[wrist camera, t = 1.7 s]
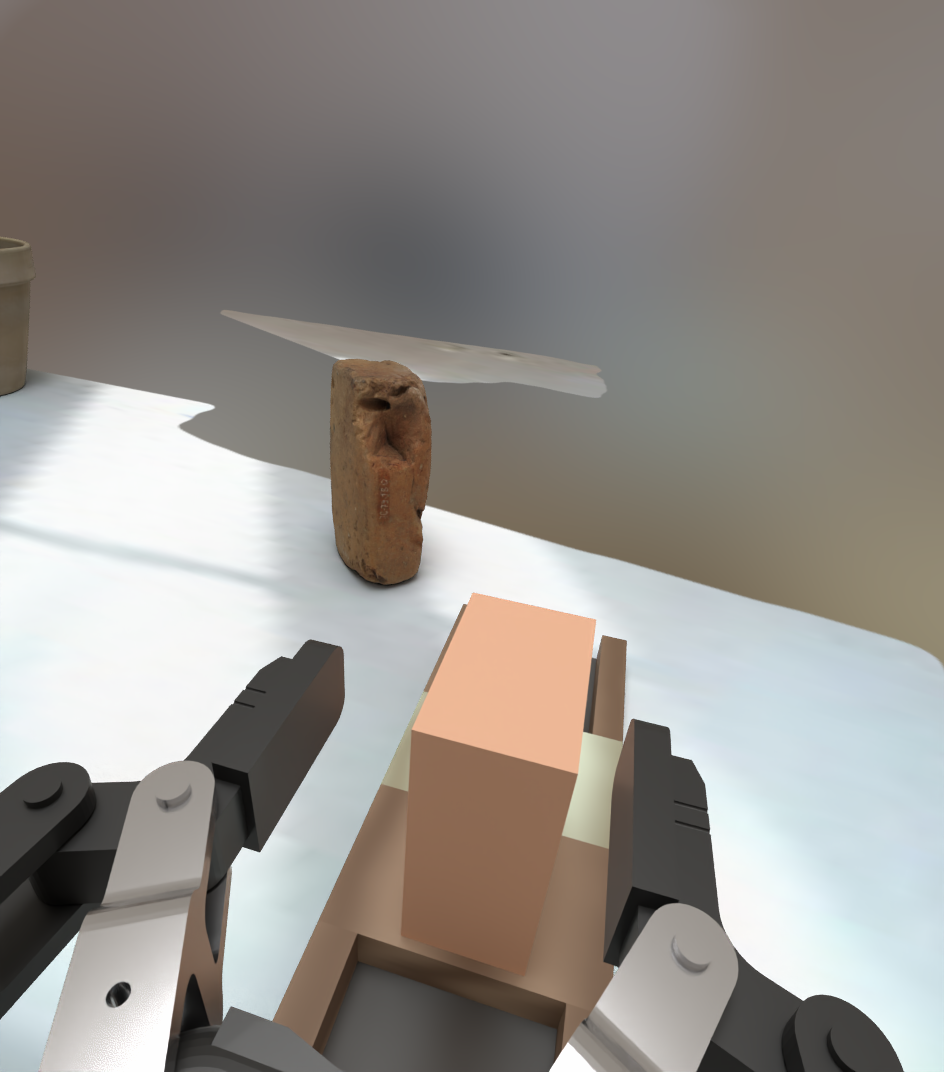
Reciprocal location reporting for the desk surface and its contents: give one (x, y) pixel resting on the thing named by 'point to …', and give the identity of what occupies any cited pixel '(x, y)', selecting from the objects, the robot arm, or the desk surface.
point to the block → (379, 467)
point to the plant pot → (14, 311)
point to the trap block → (494, 779)
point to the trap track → (450, 979)
